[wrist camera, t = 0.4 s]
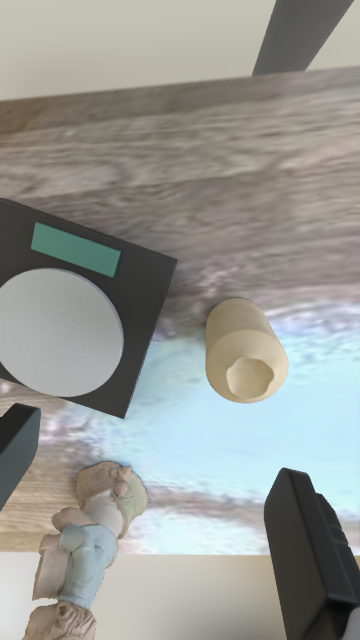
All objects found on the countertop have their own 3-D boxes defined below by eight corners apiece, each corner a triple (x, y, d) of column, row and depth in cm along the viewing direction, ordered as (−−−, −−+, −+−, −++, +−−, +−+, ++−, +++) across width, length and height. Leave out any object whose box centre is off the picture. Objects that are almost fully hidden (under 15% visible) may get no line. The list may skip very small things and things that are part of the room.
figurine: (155, 464, 35) (96, 750, 17) (144, 519, 38) (82, 818, 19) (77, 447, 36) (-69, 712, 17) (71, 503, 38) (-60, 785, 19)
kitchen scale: (3, 197, 28) (-22, 196, 25) (178, 259, 28) (174, 265, 25) (-19, 355, 33) (-42, 370, 30) (129, 405, 33) (121, 424, 30)
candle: (200, 303, 29) (197, 346, 20) (261, 291, 28) (288, 331, 19) (211, 357, 31) (214, 421, 21) (269, 347, 30) (298, 409, 21)
